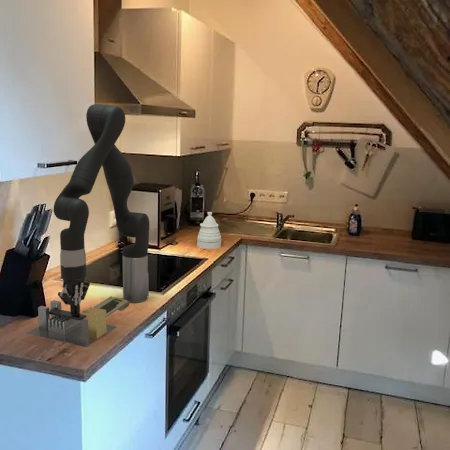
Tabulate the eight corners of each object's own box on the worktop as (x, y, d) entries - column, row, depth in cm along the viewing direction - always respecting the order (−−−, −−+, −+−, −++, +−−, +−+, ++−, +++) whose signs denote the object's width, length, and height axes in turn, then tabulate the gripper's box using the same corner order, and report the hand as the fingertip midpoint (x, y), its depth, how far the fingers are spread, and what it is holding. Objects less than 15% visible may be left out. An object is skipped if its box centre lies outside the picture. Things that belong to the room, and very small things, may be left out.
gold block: (92, 329, 160) (91, 306, 158) (106, 333, 158) (106, 309, 156) (82, 336, 155) (81, 312, 153) (96, 339, 153) (96, 315, 151)
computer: (106, 322, 169) (105, 313, 169) (85, 319, 172) (85, 309, 171) (129, 306, 184) (128, 298, 183) (109, 303, 187) (109, 295, 186)
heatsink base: (61, 318, 171) (60, 295, 169) (117, 330, 163) (116, 306, 161) (26, 336, 156) (25, 311, 155) (86, 350, 148) (85, 324, 146)
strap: (52, 310, 163) (52, 307, 163) (86, 317, 158) (86, 314, 158) (45, 313, 160) (45, 310, 160) (79, 321, 155) (79, 318, 155)
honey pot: (197, 242, 276) (197, 210, 273) (220, 243, 277) (221, 211, 273) (197, 248, 264) (197, 215, 260) (221, 249, 265) (222, 215, 261)
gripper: (77, 255, 161) (79, 306, 165) (48, 266, 149) (51, 320, 153) (96, 258, 159) (98, 310, 162) (69, 269, 147) (71, 325, 150)
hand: (75, 315), depth 158 cm, fingers closed
